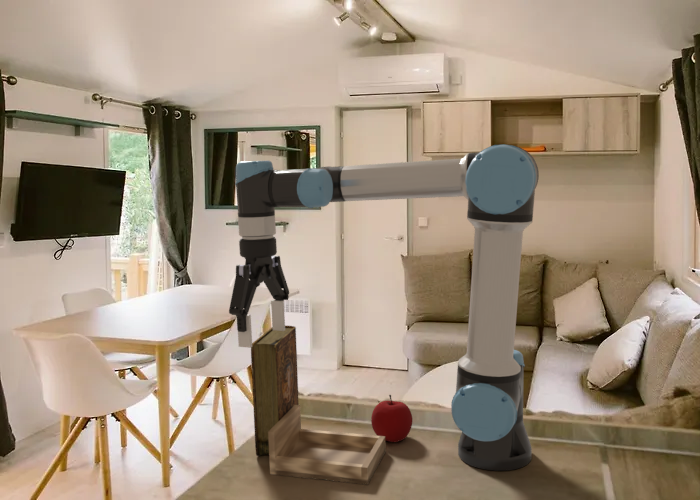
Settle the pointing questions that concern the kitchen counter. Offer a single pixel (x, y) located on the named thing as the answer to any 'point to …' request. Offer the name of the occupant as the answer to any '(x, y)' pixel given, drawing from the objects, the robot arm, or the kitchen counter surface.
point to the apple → (391, 420)
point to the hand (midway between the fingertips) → (262, 338)
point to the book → (273, 381)
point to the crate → (322, 452)
